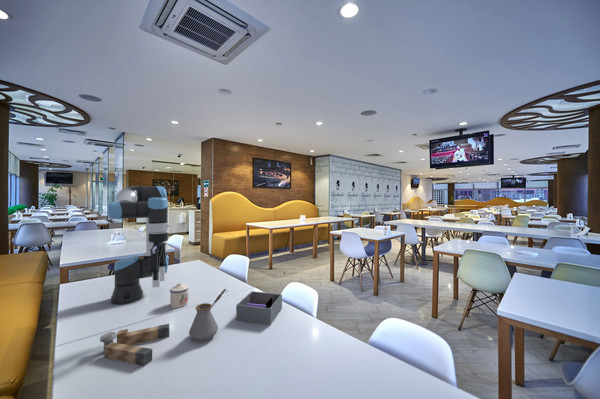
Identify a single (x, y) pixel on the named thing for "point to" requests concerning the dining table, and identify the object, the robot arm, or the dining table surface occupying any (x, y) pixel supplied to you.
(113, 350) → the tongs lower arm
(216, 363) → the dining table surface
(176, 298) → the teacup with lid
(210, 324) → the coffee pot
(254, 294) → the frame
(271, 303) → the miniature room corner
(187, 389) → the dining table surface
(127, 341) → the bar
